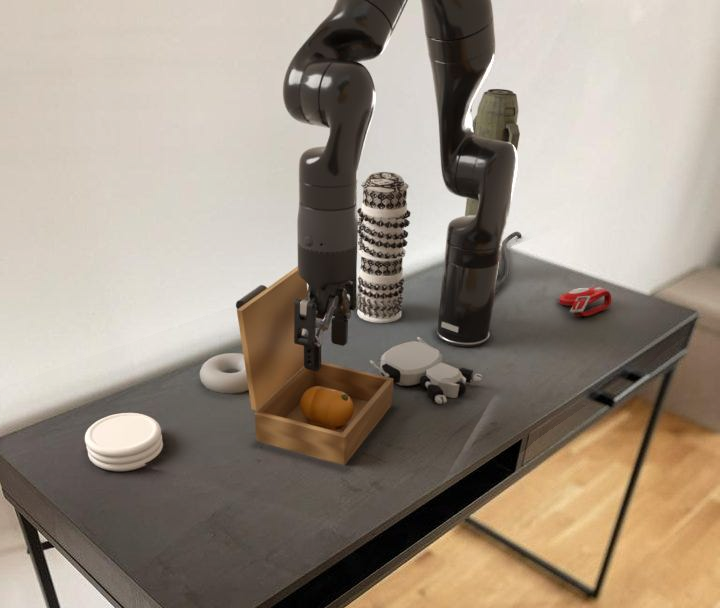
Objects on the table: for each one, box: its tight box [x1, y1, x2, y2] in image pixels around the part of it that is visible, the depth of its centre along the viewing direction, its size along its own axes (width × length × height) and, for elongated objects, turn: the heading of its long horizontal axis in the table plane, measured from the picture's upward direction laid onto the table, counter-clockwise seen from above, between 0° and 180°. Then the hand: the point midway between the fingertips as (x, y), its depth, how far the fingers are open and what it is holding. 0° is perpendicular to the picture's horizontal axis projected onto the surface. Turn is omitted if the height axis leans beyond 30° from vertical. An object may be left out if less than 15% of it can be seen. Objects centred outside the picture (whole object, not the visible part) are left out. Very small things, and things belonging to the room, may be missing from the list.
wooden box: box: [254, 361, 394, 466], centre depth 110 cm, size 14×18×5 cm
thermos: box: [464, 88, 521, 276], centre depth 150 cm, size 9×12×35 cm
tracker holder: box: [558, 286, 612, 317], centre depth 147 cm, size 12×4×10 cm
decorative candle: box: [356, 171, 412, 324], centre depth 136 cm, size 9×9×25 cm
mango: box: [300, 386, 354, 429], centre depth 109 cm, size 8×5×5 cm, turn 67°
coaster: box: [84, 412, 164, 472], centre depth 103 cm, size 10×10×4 cm
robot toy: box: [369, 336, 483, 405], centre depth 121 cm, size 12×4×15 cm
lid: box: [235, 265, 308, 412], centre depth 106 cm, size 14×18×5 cm
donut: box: [199, 352, 249, 395], centre depth 120 cm, size 10×4×10 cm
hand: (326, 356), depth 104 cm, fingers open, 8 cm apart
